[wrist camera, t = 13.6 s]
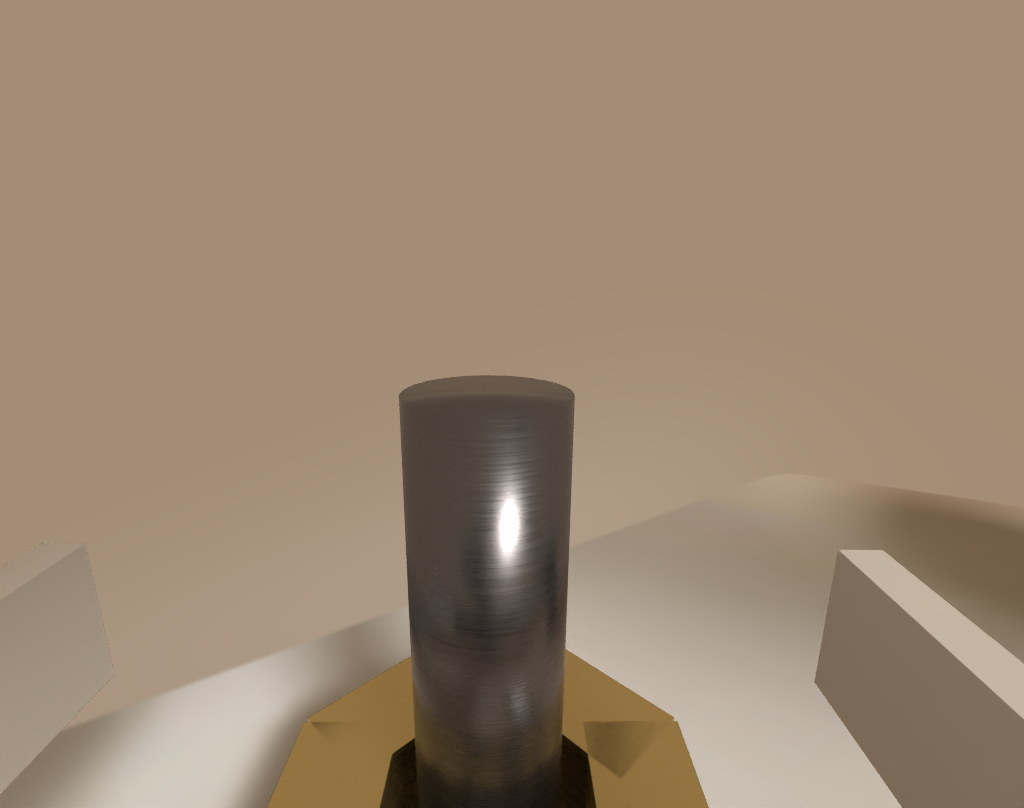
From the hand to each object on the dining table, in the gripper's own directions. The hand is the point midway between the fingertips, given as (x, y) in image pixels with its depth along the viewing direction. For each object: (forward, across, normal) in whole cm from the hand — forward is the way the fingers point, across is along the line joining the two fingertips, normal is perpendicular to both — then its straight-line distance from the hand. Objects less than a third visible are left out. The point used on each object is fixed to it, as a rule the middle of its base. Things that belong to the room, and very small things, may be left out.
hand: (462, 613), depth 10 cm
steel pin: (+2, 0, -11) cm, 11 cm away
